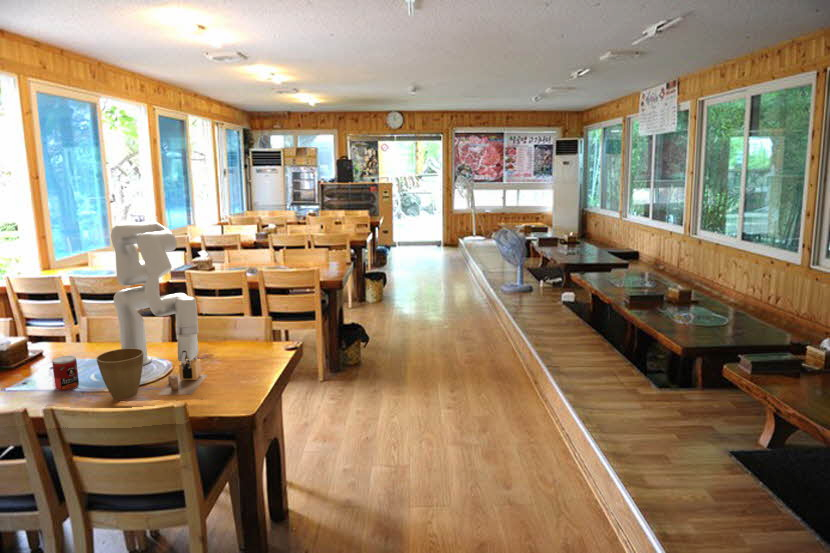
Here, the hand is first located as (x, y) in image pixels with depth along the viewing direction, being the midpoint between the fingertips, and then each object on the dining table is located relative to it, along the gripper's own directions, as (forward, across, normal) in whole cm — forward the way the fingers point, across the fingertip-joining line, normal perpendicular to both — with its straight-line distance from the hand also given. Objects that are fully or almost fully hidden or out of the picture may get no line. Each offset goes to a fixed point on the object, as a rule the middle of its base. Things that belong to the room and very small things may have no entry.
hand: (190, 374), depth 225 cm
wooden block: (+1, 0, 0) cm, 1 cm away
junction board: (+3, +6, -1) cm, 7 cm away
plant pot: (+3, +14, -19) cm, 24 cm away
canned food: (+4, +2, -45) cm, 45 cm away
